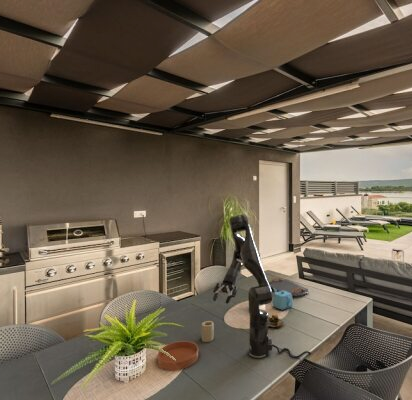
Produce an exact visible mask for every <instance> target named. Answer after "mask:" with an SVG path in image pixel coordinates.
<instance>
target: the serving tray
mask: <svg viewBox="0 0 412 400" xmlns="http://www.w3.org/2000/svg"><path fill="white" fill-rule="evenodd" d="M268 283H269V286H270V288H271V289H273V288H275V289H276V291H277V292H280V291H287V292H289V293H291V295H292V297H295V296H300V295H305V294H306V293H307V292H308V293H309V292H310V289H308V288H305V287H304V286H301V285H299V284H297V283H294V282H293V281H289V280H288V279H282V278H280V277H274V278H272V279H271V280H270V281H268Z"/></svg>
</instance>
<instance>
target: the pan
mask: <svg viewBox="0 0 412 400" xmlns="http://www.w3.org/2000/svg"><path fill="white" fill-rule="evenodd" d="M161 349H163V350H164V351H166V352H168V353H169V354H170V355H171V356H173V357H174V358H175V359H176V361H175V360H173V359H172V358H170V357H169V356H167V355H166V354H164V353H162V352H160V350H159V351H158V353H157V364H158V366H159V367H160V369H163V370H166V371H180V370H183V369H187V368H190V367H191V366H192V365H194V364H195V363H196V362H197V361H198V359H199V355H200V348H199V345H198V344H197V343H195V342H194V341H191V340H178V341H173V342H171V343H168V344H166V345H164V346H163V347H161Z"/></svg>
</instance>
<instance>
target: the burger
mask: <svg viewBox="0 0 412 400" xmlns="http://www.w3.org/2000/svg"><path fill="white" fill-rule="evenodd" d="M268 327H271V328H277V329H281V327H284V321H283V319H282V318H280V317H279V315H278V314H277V311H276V313H273V314H271V315H270V316H269V315H268Z"/></svg>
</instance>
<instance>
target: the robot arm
mask: <svg viewBox="0 0 412 400" xmlns="http://www.w3.org/2000/svg"><path fill="white" fill-rule="evenodd" d="M228 225H229V229H230V233H231V237H232V239H233V242H234V251H233V254H232V260H231V263H230V266H229V268H228V270H227V271H226V273H225V275H224V277H223V279H222V282H221V283H219V282H217V283H216V285H215V286H214V289H213V291H212V293H214V295H213V297H212V300H213V302H216V301H217V299H218V297H219V295H220V294H223V293H224V294H228V296H227V298H226V299H225V304H226V305H229V304H230V302H231V299H232V298H235V297H236V295H237V292H238V287H237V286H236V283H237V280H238V278H239V276H240V273H241V270H242V268H243V266H244V268H245V269H246V270H247V271H248V272H249V273H250V274H251V275H252V276H253V277H254V278H255V280H256V282H257V284H258V285H257V286H255V285H254V286H252V287H250V288H249V290H248V314H249V334H248V335H249V336H248V337H249V339H248V340H249V341H248V344H247V345H248V355H249V357H251V358H252V359H253V358H254V359H263V358H266V357H269V352H270V351H271V352H272V351H273V348H275V349H276V350H277V353H278V354H282V353H283V352H284V351H287V352H288V355H289V357H290V358H292V359H298V358H300V357H302V356H303V355H305V354H309V355H311V354H312V353H311V351H308V350H304V351H303V352H302V353H300V354H298V355H292V353H291V351H290V349H289V348H286V347H284V348H282V349H281V350H280V348H279V347H278V346H277V345H275V344H273V341H272V338H269V326H268V318H269V313H268V311H267V310H265V309H261V308H260V307H261V306H264V305H269V304H271V303H272V301H273V292H272V288H271V287H270V286H269V283H268V282H269V281H268V279H267V276H266V273H265V270H264V268H263V265H262V262H261V258H260V254H259V251H258V248H257V245H256V242H255V240H254V236H253V232H252V229H251V225H250V220H249V218H248V215H247V214H239V215H234V216H231V217H229V219H228ZM240 232H245V235H244V236H243V235H242V234H240Z"/></svg>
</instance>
